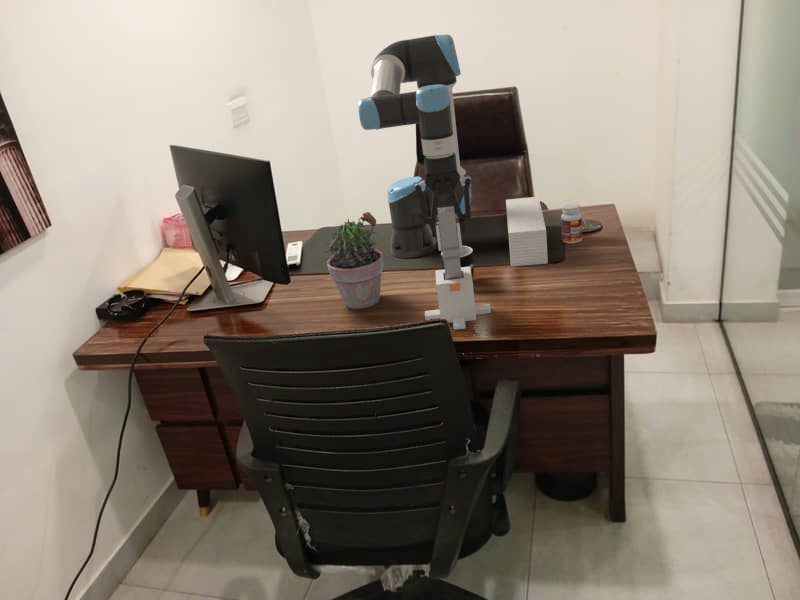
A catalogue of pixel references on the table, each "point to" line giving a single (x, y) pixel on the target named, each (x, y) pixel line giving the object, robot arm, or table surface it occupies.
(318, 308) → the table surface
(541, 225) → the stack of papers
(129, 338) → the table surface
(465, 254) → the mug
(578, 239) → the pill bottle
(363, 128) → the robot arm
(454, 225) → the post
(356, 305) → the potted plant
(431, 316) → the housing
